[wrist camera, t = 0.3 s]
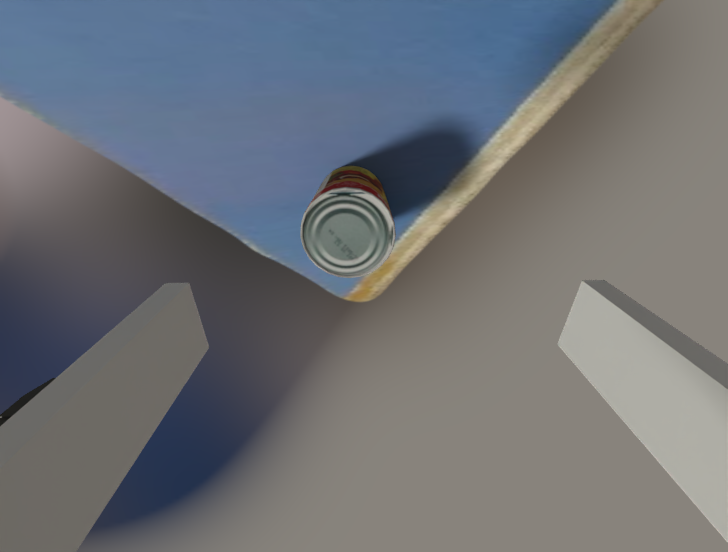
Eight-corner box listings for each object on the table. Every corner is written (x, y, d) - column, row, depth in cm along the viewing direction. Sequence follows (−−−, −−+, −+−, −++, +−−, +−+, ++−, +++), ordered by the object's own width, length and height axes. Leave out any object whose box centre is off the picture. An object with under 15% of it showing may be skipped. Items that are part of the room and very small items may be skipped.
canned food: (377, 237, 38) (383, 284, 27) (314, 225, 37) (295, 269, 26) (392, 173, 34) (406, 198, 24) (323, 158, 33) (305, 178, 23)
